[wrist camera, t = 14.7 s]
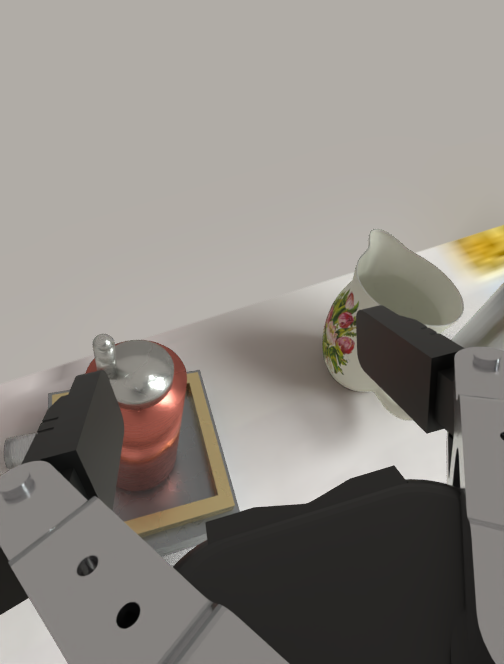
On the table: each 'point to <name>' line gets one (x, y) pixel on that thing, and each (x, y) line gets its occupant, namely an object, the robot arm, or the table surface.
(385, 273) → the pitcher
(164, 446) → the spout can
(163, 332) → the table surface
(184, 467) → the grey tray
